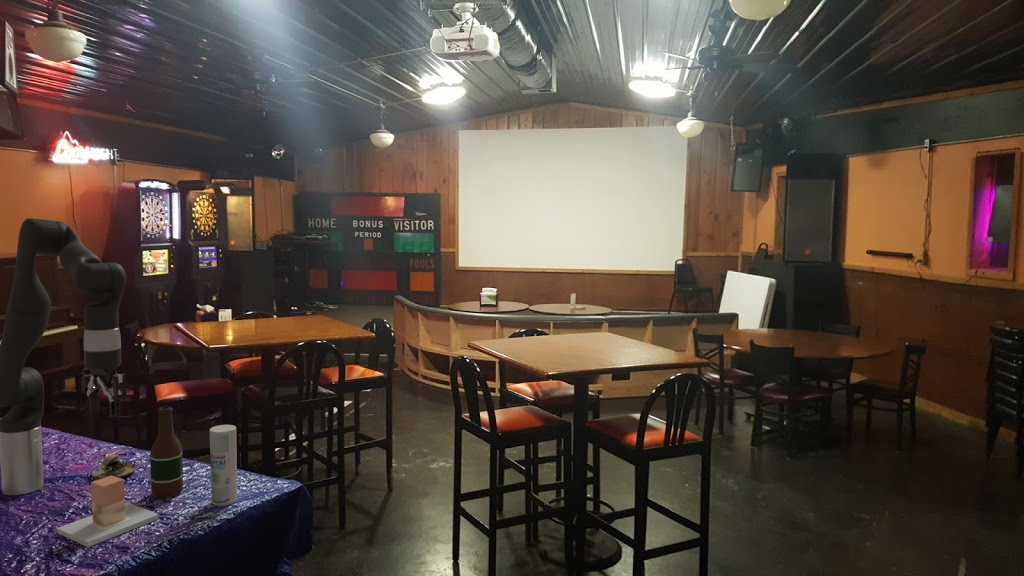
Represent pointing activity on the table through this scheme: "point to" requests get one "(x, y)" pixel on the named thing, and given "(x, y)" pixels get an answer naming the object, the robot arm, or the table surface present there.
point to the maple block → (108, 513)
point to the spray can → (223, 464)
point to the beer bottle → (166, 458)
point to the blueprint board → (94, 533)
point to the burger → (112, 468)
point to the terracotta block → (107, 490)
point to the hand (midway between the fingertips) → (105, 413)
